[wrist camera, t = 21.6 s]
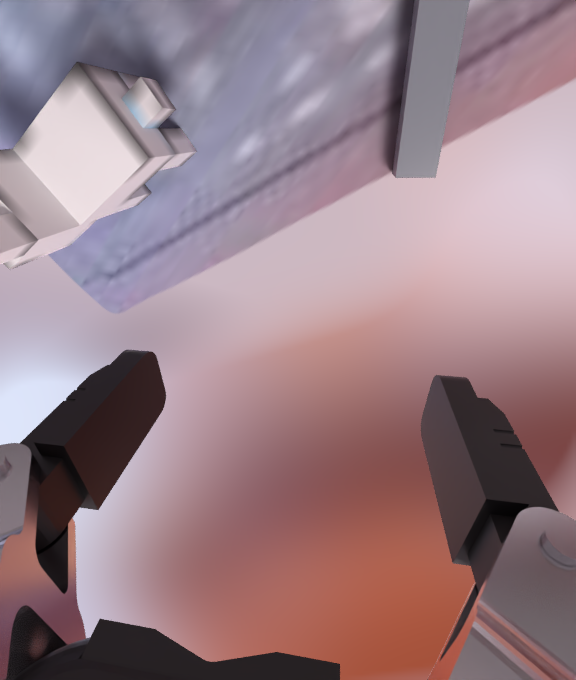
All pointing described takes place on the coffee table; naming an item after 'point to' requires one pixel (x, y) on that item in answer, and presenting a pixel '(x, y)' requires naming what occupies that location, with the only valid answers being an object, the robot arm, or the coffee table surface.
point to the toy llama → (84, 160)
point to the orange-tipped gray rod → (428, 85)
